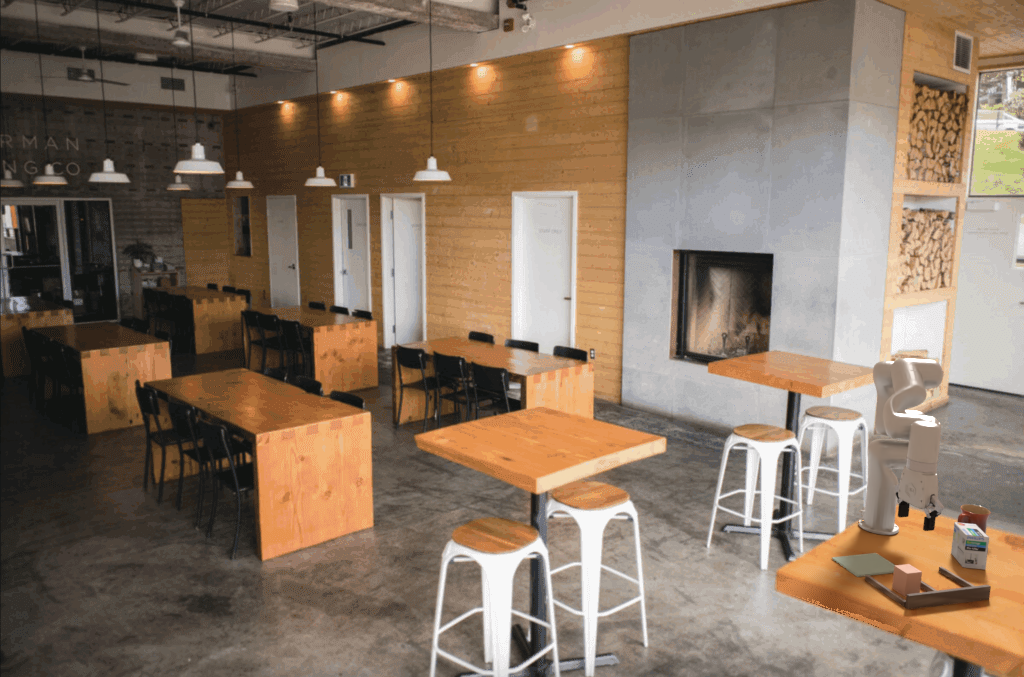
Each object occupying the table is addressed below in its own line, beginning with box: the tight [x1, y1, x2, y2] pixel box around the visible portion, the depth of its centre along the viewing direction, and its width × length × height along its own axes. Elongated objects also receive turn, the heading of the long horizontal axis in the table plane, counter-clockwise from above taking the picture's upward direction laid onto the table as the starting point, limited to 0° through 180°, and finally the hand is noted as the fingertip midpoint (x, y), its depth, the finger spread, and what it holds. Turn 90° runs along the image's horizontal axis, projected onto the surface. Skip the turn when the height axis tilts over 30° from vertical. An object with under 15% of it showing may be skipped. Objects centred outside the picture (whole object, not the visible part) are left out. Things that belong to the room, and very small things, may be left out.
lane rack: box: [864, 566, 992, 611], centre depth 219 cm, size 18×27×4 cm, turn 103°
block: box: [891, 563, 923, 597], centre depth 218 cm, size 5×5×7 cm
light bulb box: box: [950, 521, 990, 570], centre depth 237 cm, size 11×7×11 cm, turn 168°
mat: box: [831, 552, 896, 578], centre depth 234 cm, size 12×16×1 cm
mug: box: [956, 504, 992, 535], centre depth 254 cm, size 12×9×10 cm
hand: (915, 523), depth 215 cm, fingers open, 9 cm apart
